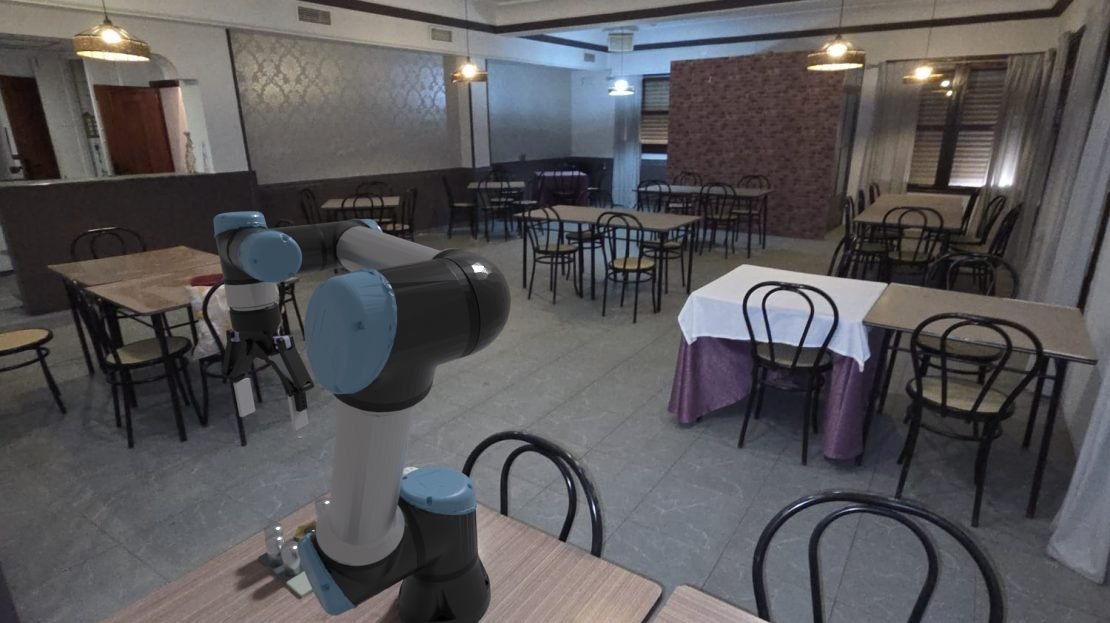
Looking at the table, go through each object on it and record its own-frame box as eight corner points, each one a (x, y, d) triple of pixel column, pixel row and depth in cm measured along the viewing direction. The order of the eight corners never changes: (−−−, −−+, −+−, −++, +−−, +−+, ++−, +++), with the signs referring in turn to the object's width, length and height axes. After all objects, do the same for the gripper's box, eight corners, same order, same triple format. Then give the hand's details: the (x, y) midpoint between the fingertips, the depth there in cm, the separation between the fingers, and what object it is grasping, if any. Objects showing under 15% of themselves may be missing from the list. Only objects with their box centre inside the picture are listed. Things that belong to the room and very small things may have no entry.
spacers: (363, 534, 113) (360, 512, 111) (287, 580, 101) (283, 556, 100) (332, 514, 119) (329, 493, 118) (257, 555, 108) (253, 532, 106)
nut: (333, 539, 112) (331, 526, 111) (313, 556, 107) (311, 542, 106) (310, 532, 114) (308, 518, 113) (290, 548, 109) (287, 534, 108)
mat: (381, 546, 110) (381, 544, 110) (302, 597, 98) (301, 594, 98) (336, 516, 119) (336, 513, 119) (258, 559, 107) (258, 557, 107)
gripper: (325, 306, 96) (341, 423, 102) (225, 293, 107) (245, 400, 112) (287, 318, 90) (307, 442, 95) (185, 303, 100) (208, 416, 106)
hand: (273, 420), depth 104 cm, fingers open, 13 cm apart
